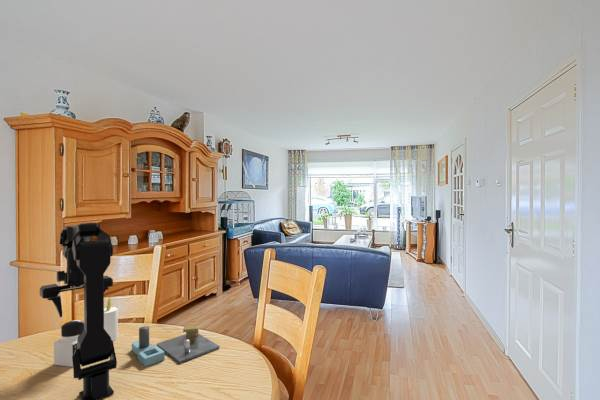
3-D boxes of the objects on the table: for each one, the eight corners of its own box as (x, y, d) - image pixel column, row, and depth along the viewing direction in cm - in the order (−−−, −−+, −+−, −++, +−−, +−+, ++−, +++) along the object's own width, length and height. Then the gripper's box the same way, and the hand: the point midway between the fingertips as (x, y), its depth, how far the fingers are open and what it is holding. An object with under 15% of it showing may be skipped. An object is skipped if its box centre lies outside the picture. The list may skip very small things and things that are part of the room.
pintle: (190, 354, 105) (190, 340, 105) (186, 355, 104) (185, 341, 104) (188, 352, 106) (188, 338, 106) (183, 354, 105) (183, 340, 105)
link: (164, 359, 102) (164, 332, 102) (144, 366, 98) (144, 339, 98) (147, 345, 112) (146, 320, 112) (128, 351, 107) (128, 326, 107)
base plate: (219, 348, 110) (219, 333, 109) (179, 363, 99) (179, 348, 99) (194, 333, 121) (194, 320, 121) (156, 346, 111) (156, 332, 111)
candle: (93, 341, 115) (92, 299, 115) (110, 334, 121) (110, 294, 120) (104, 344, 112) (104, 301, 112) (122, 337, 118) (121, 296, 118)
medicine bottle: (73, 367, 97) (72, 327, 97) (53, 365, 99) (53, 326, 99) (92, 356, 104) (92, 319, 104) (74, 353, 106) (73, 317, 106)
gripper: (102, 257, 116) (103, 300, 116) (36, 265, 102) (36, 314, 102) (113, 261, 108) (113, 307, 108) (42, 270, 95) (43, 323, 95)
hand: (78, 313), depth 104 cm, fingers open, 9 cm apart
